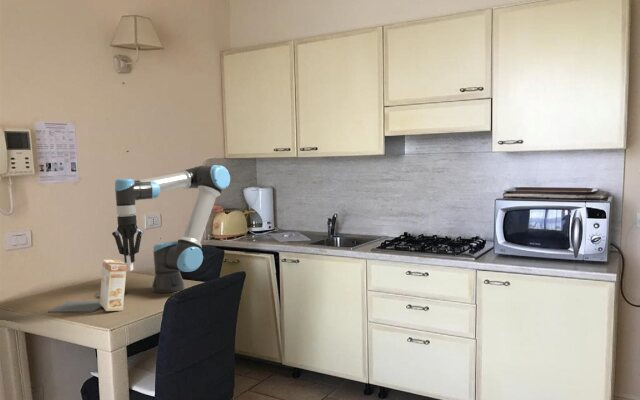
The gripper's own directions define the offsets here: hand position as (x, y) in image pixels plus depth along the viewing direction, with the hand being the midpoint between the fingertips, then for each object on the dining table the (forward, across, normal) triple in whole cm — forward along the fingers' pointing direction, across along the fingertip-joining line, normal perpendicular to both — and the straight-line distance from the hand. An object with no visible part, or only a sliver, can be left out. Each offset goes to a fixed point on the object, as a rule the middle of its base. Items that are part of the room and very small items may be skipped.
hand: (130, 270), depth 220 cm
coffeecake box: (+16, +10, 0) cm, 19 cm away
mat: (+16, +25, -3) cm, 30 cm away
